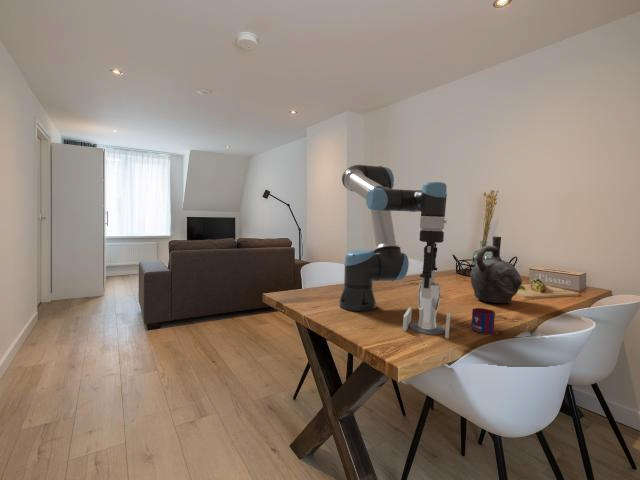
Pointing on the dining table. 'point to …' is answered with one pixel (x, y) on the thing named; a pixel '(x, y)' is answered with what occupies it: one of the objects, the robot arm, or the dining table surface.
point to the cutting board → (542, 290)
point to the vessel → (494, 276)
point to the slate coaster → (434, 332)
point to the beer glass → (428, 307)
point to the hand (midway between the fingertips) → (427, 293)
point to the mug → (483, 320)
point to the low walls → (408, 319)
